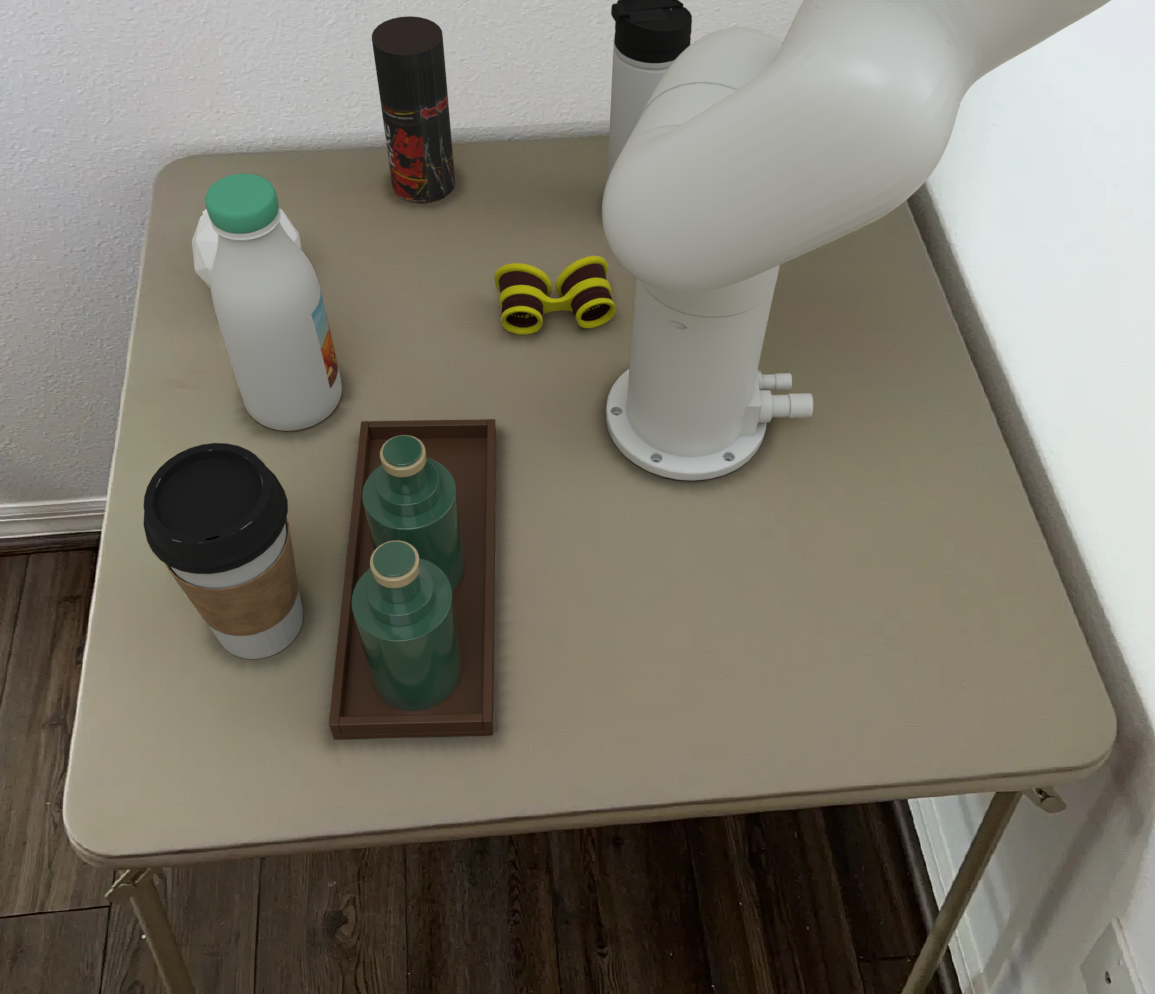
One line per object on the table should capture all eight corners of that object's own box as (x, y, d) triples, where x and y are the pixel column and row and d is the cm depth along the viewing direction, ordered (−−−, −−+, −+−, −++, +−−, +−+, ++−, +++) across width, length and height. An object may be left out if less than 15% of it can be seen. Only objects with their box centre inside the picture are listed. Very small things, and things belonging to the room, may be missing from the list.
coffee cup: (203, 690, 74) (135, 563, 62) (192, 585, 79) (127, 449, 67) (330, 659, 76) (288, 530, 64) (312, 558, 81) (270, 421, 69)
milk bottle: (324, 441, 87) (274, 238, 71) (230, 425, 88) (159, 221, 72) (356, 370, 92) (315, 164, 76) (266, 355, 93) (206, 149, 77)
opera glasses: (501, 344, 95) (501, 310, 91) (494, 293, 97) (493, 257, 93) (615, 333, 96) (620, 298, 92) (605, 283, 98) (609, 246, 94)
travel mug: (593, 194, 106) (600, -11, 90) (659, 182, 107) (678, -22, 91) (614, 236, 102) (626, 31, 87) (683, 223, 104) (706, 18, 88)
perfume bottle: (338, 285, 95) (286, 221, 102) (282, 206, 88) (230, 143, 95) (253, 346, 94) (207, 276, 102) (190, 271, 87) (144, 202, 94)
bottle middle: (465, 533, 82) (452, 412, 71) (463, 604, 78) (449, 487, 67) (382, 534, 81) (356, 413, 71) (376, 606, 78) (348, 489, 67)
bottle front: (462, 629, 77) (448, 514, 66) (460, 709, 73) (444, 602, 63) (374, 631, 77) (345, 516, 66) (367, 712, 73) (336, 604, 62)
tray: (496, 436, 88) (495, 418, 86) (493, 735, 73) (491, 721, 71) (364, 438, 88) (360, 420, 86) (333, 739, 72) (328, 725, 71)
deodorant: (468, 183, 107) (457, 35, 95) (420, 211, 104) (402, 63, 92) (426, 155, 109) (411, 8, 97) (379, 182, 107) (356, 35, 95)
